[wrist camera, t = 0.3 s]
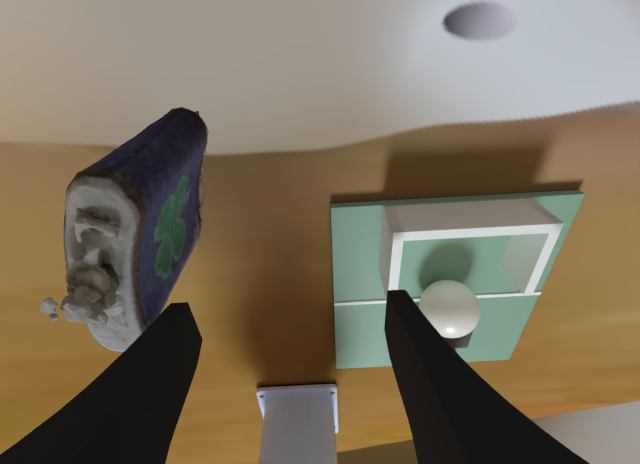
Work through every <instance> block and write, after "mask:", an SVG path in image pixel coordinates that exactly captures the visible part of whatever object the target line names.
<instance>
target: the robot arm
mask: <svg viewBox="0 0 640 464" xmlns="http://www.w3.org/2000/svg"><path fill="white" fill-rule="evenodd" d="M384 331H385V336H386V342H387V347H388V352H389V357H390V360H391V364H392V367H393V371H394V374H395V377H396V381H397V384H398V387H399V390H400V394H401V397H402V400H403V404H404V407H405V410H406V414H407V417H408V420H409V424H410V428H411V432H412V436H413V441H414V446H415V450H416V455H417V460H418V464H589V463H588V462H587V461H585V460H584V459H582V458H581V457H579V456H578V455H576V454H575V453H573V452H572V451H570V450H569V449H568V448H566V447H565V446H564V445H562V444H561V443H560V442H558V441H557V440H556V439H554V438H553V437H552V436H550V435H549V434H548V433H546V432H545V431H544V430H543V429H541V428H540V427H539V426H538V425H536V424H535V423H534V422H532V421H531V420H530V419H529V418H528V417H526V416H525V415H524V414H523V413H521V412H520V411H519V410H518V409H516V408H515V407H514V406H513V405H512V404H510V403H509V402H508V401H507V400H506V399H505V398H503V397H502V396H501V395H500V394H499V393H498V392H497V391H495V390H494V389H493V388H492V387H491V386H490V385H489V384H488V383H487V382H486V381H485V380H484V379H482V378H481V377H480V376H479V375H478V374H477V373H476V372H475V371H474V370H473V369H472V368H471V367H470V366H469V365H468V364H467V363H466V362H465V361H464V360H463V359H462V358H461V357H460V356H459V355H458V353H457V352H456V351H455V350H454V349H453V348H452V347H451V346H450V345H449V344H448V343H447V341H446V340H445V339H444V338H443V337H442V336H441V335H440V333H439V332H438V331H437V330H436V329H435V328H434V326H433V325H432V324H431V323H430V321H429V320H428V319H427V318H426V316H425V315H424V314H423V313H422V311H421V310H420V309H419V307H418V306H417V305H416V303H415V302H414V301H413V299H412V298H411V297H410V295H409V294H408V292H407V291H406V290H387V301H386V313H385V325H384ZM201 344H202V337H201V335H200V332H199V330H198V327H197V325H196V322H195V320H194V317H193V314H192V312H191V309H190V307H189V304H188V302H186V303H171V304H170V305H169V306H168V307H167V308H166V309H165V310H164V311H163V312H162V313H161V314H160V315H159V316H158V317H157V318H156V319H155V320H154V321H153V323H152V324H151V325H150V326H149V327H148V328H147V329H146V330H145V331H144V332H143V333H142V334H141V335H140V336H139V337H138V338H137V339H136V340H135V341H134V342H133V343H132V344H131V345H130V346H129V347H128V348H127V349H126V350H125V351H124V352H123V353H122V354H121V355H120V356H119V357H118V358H117V359H116V360H115V361H114V362H113V363H112V364H111V365H110V366H109V367H108V368H107V369H106V370H105V371H104V372H102V373H101V374H100V375H99V376H98V377H97V378H96V379H95V380H94V381H93V382H92V383H91V384H90V385H88V386H87V387H86V388H85V389H84V390H83V391H82V392H80V393H79V394H78V395H77V396H76V397H75V398H73V399H72V400H71V401H70V402H69V403H67V404H66V405H65V406H64V407H63V408H61V409H60V410H59V411H58V412H56V413H55V414H54V415H53V416H51V417H50V418H49V419H47V420H46V421H45V422H44V423H42V424H41V425H40V426H38V427H37V428H36V429H34V430H33V431H32V432H30V433H29V434H28V435H27V436H25V437H24V438H23V439H21V440H20V441H19V442H17V443H16V444H15V445H13V446H12V447H10V448H9V449H8V450H6V451H5V452H3V453H2V454H1V455H0V464H165V462H166V458H167V454H168V450H169V446H170V443H171V440H172V437H173V434H174V431H175V428H176V425H177V422H178V419H179V416H180V414H181V411H182V408H183V405H184V402H185V399H186V396H187V394H188V391H189V388H190V385H191V382H192V379H193V376H194V373H195V370H196V367H197V363H198V359H199V354H200V349H201ZM256 395H257V398H258V402H259V405H260V409H261V412H262V416H263V419H264V421H263V430H262V438H261V447H260V456H259V464H337V452H336V436H335V434H336V433H338V405H337V386H336V385H335V384H318V385H300V386H281V387H262V388H258V389H257V391H256Z"/></svg>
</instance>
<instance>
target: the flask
mask: <svg viewBox="0 0 640 464" xmlns="http://www.w3.org/2000/svg"><path fill="white" fill-rule="evenodd" d="M207 136H208V129H207V127H206V125H205V123H204V122H203V120H202V119H201V117H200V116H199V112H198V111H196V112H193V111H191V110H189V109H185V108H182V107H181V108H176V109H171V110H170V111H169V112H168V113H167V114H166V115H164V116H163V117H162V118H160V119H159V120H157V121H156V122H154V123H152V124H151V125H149V126H148V127H147V128H146V129H144V130H143V131H142V132H140V133H139V134H138V135H137V136H135V137H134V138H132V139H130V140H129V141H127V142H126V143H124V144H122V145H121V146H120V147H119V148H117V149H115V150H113V151H112V152H111V153H110V154H108V155H107V156H105V157H104V158H102V159H101V160H99V161H98V162H96V163H94V164H93V165H91V166H89V167H88V168H86V169H84V170H83V171H81V172H78V173H77V174H76V176H75V177H74V178H73V180H72V181H71V183H70V184H69V186H68V187H67V190H66V201H65V209H66V210H65V218H64V250H65V261H66V262H67V264H66V270H67V274H66V276H65V279H66V282H67V283H68V285H67V292H68V294H69V295H68V296H65V297H64V299H63V300H62V303H61V307H60V309H61V311H62V313H63V315H64V316H65V318H66V320H69V321H74V322H86V324H87V327H88V328H89V330H90V331H91V333H92V335H93V338H94V339H95V340H96V341H97V342H98V343H99V344H100V345H102V346H104V347H106V348H108V349H110V350H113V351H120V352H124V351H125V350H126V349H127V348H128V347H129V346H130V345H131V344H132V343H133V342H134V341H135V340H136V339H137V338H138V337H139V336H140V335H141V334H142V333H143V332H144V331H145V330H146V329H147V328H148V327H149V326H150V325H151V324H152V323H153V321H154V320H155V319H156V318H157V317H158V316H159V315H160V313H161V312H162V310H163V308H164V306H165V304H166V302H167V300H168V297H169V295H170V293H171V291H172V289H173V287H174V285H175V283H176V281H177V280H178V278H179V276H180V274H181V271H182V270H183V268H184V266H185V264H186V263H187V260H188V259H189V257H190V255H191V254H192V251H193V249H194V247H195V246H196V245H197V243H198V241H199V238H200V232H201V227H202V225H203V224H202V223H203V222H202V221H200V211H201V210H200V208H201V204H203V197H204V196H205V195H204V193H203V192H204V188H203V185H202V182H201V179H200V176H201V173H202V172H204V171H205V170H204V169H203V168H204V167H203V164H202V158H203V156H204V154H205V153H206V145H207ZM57 305H58V303H56V302H55V301H54V300H53V299H52V298H51V297H49V298H46V299H44V300H43V301H42V302H41V305H40V310H41V311H42V312H44V313H45V314H47V315H49V314H50V315H49V318H50V320H51V322H52V321H56V320H57V319H58V316H57V314H54V313H53V312H55V311H56V310H55V307H56V306H57Z"/></svg>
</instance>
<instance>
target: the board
mask: <svg viewBox="0 0 640 464" xmlns="http://www.w3.org/2000/svg"><path fill="white" fill-rule="evenodd" d="M584 196H585V193H583V192H581V191H580V190H566V191H548V192H529V193H511V194H493V195H475V196H457V197H439V198H421V199H403V200H385V201H367V202H349V203H331V204H330V205H331V234H332V264H333V293H334V323H335V352H336V369H343V368H361V367H380V366H392V364H391V360H390V357H389V352H388V347H387V342H386V336H385V331H384V325H385V313H386V301H387V300H386V297H385V293H384V290H383V286H382V282H381V279H380V275H379V259H380V245H381V231H382V217H383V207H384V206H402V205H420V204H438V203H456V202H474V201H492V200H510V199H528V198H532V199H534V200H535V201H536V202H538V203H539V204H540V205H541V206H543V207H544V208H545V209H547V210H548V211H549V212H550V213H552V214H553V215H554V216H556V217H557V218H558V219H559V220H561V221H562V222H563V223H564V225H563V227H562V229H561V232H560V234H559V236H558V239H557V241H556V243H555V245H554V248H553V250H552V252H551V254H550V257H549V259H548V261H547V263H546V266H545V268H544V270H543V272H542V275H541V277H540V279H539V281H538V284H537V286H536V288H535V290H534V293H533V294H531V295H523V294H522V293H521V291H520V290H519V289H518V287H517V286H516V285H515V284H514V282H513V281H512V280H511V279H510V277H509V276H508V275H507V274H506V272H505V271H504V270H503V268H502V267H501V266H500V264H501V261H502V258H503V255H504V252H505V249H506V246H507V243H508V240H509V237H510V235H504V236H486V237H467V238H449V239H431V240H413V241H403V250H402V258H401V267H400V275H399V283H398V290H406V291H407V292H408V294H409V295H410V297H411V298H412V299H413V301H414V302H415V303H416V305H417V306H418V307H419V302H420V298H421V295H422V293H423V292H424V290H425V289H426V288H427V287H428V286H429V285H431V284H433V283H435V282H437V281H441V280H453V281H457V282H460V283H462V284H464V285H465V286H467V287H468V288H469V289H470V290H471V291H472V292H473V293H474V294H475V296H476V297H477V299H478V302H479V305H480V318H479V322H478V324H477V325H476V327H475V328H474V329H473V333H472V336H471V339H470V342H469V345H468V348H455V349H456V352H457V353H458V355H459V356H460V357H461V358H462V359H463V360H464V361H465V362H474V361H493V360H509V359H510V357H511V355H512V353H513V350H514V348H515V346H516V344H517V342H518V340H519V337H520V335H521V333H522V331H523V329H524V326H525V324H526V322H527V320H528V318H529V316H530V313H531V311H532V309H533V307H534V305H535V302H536V300H537V298H538V296H539V295H540V294H541V289H542V287H543V285H544V283H545V281H546V279H547V276H548V274H549V272H550V270H551V268H552V265H553V263H554V261H555V259H556V257H557V255H558V252H559V250H560V248H561V246H562V244H563V242H564V239H565V237H566V235H567V233H568V231H569V228H570V226H571V224H572V222H573V220H574V218H575V215H576V213H577V211H578V209H579V207H580V204H581V202H582V200H583V198H584Z"/></svg>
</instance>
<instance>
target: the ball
mask: <svg viewBox="0 0 640 464" xmlns="http://www.w3.org/2000/svg"><path fill="white" fill-rule="evenodd" d="M419 309H420V310H421V311H422V313H423V314H424V315H425V316H426V318H427V319H428V320H429V321H430V323H431V324H432V325H433V326H434V328H435V329H436V330H437V331H438V332H439V333H440V335H441V336H442V337H445V338H459V337H463V336H465V335H467V334H469V333H470V332H471V331H472V330H473V329H474V328H475V327H476V325H477V324H478V322H479V318H480V305H479V302H478V299H477V297H476V296H475V294H474V293H473V292H472V291H471V290H470V289H469V288H468V287H467V286H465V285H464V284H462V283H460V282H457V281H453V280H441V281H437V282H435V283H433V284H431V285H429V286H428V287H427V288H426V289H425V290H424V292H423V293H422V295H421V298H420V302H419Z"/></svg>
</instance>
